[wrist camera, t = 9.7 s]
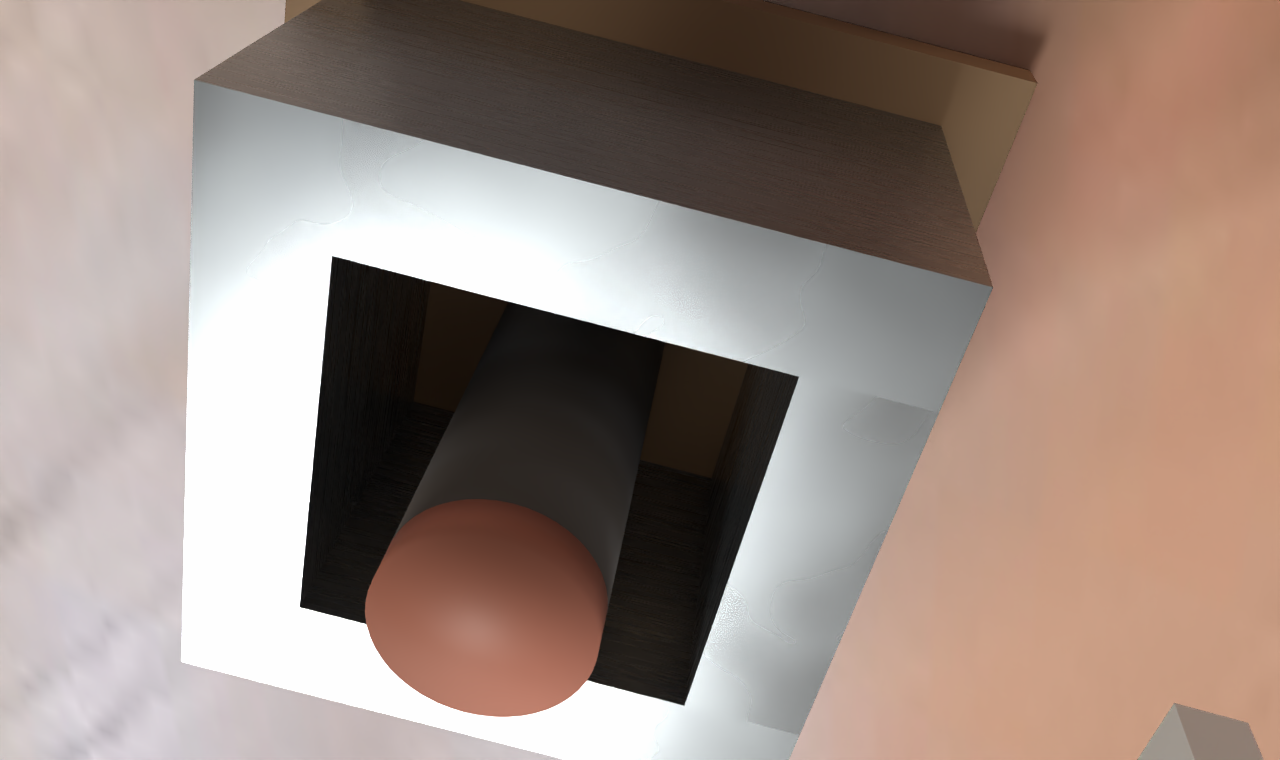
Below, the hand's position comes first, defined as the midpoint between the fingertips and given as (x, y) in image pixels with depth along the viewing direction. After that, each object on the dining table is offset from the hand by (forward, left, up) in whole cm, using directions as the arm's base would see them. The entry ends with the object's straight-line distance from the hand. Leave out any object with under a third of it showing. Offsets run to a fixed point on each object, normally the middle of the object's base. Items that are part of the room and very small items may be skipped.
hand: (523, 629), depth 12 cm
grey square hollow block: (0, 0, -7) cm, 7 cm away
